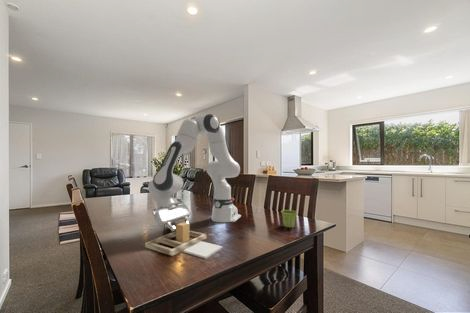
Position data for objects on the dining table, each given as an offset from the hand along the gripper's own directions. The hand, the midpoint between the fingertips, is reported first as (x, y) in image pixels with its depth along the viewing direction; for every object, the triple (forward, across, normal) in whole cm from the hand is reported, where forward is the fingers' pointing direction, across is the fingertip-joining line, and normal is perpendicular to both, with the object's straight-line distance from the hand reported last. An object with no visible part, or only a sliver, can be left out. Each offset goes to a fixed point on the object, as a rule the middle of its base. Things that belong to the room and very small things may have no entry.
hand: (181, 227), depth 105 cm
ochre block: (+5, 0, +4) cm, 6 cm away
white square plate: (+16, -4, -8) cm, 18 cm away
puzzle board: (+5, -3, +4) cm, 7 cm away
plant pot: (+32, +49, -24) cm, 64 cm away
